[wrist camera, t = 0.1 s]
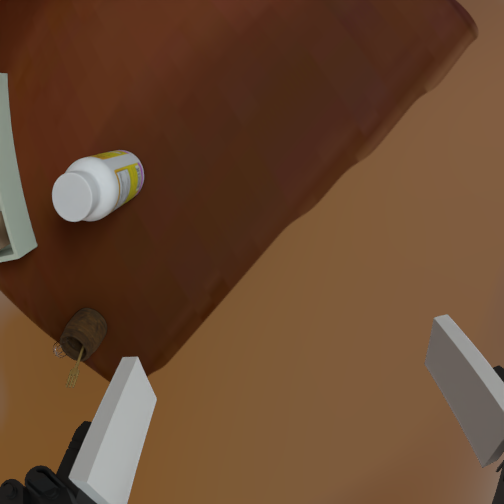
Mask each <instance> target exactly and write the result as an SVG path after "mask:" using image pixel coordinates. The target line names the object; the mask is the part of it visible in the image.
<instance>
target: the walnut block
mask: <svg viewBox="0 0 504 504" xmlns="http://www.w3.org/2000/svg"><path fill="white" fill-rule="evenodd" d="M9 244H11V243H10V239H9V236H8V233H7V229H6V226H5V222H4V218H3V215H2V211H0V250H1V249H2V248H4V247H6V246H7V245H9Z"/></svg>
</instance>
